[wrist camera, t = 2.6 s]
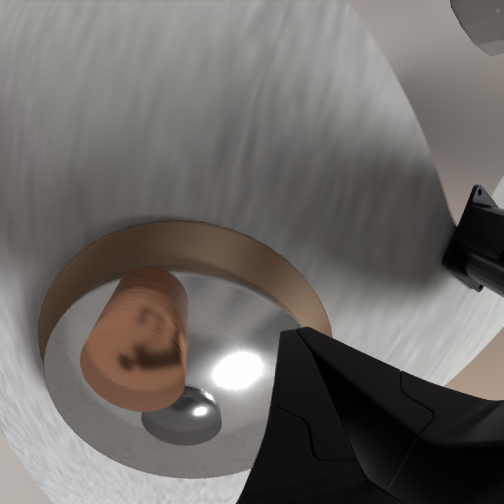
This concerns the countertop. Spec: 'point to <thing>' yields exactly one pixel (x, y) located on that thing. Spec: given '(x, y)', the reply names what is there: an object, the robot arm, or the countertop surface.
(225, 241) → the wheel base
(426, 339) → the countertop surface
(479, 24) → the water bottle
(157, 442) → the handwheel
